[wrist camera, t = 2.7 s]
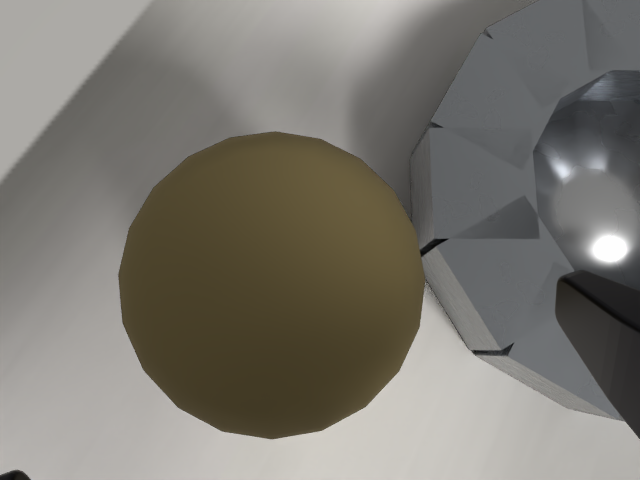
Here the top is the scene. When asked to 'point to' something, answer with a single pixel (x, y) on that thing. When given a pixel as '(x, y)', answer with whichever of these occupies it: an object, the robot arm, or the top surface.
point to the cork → (271, 285)
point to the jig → (534, 185)
